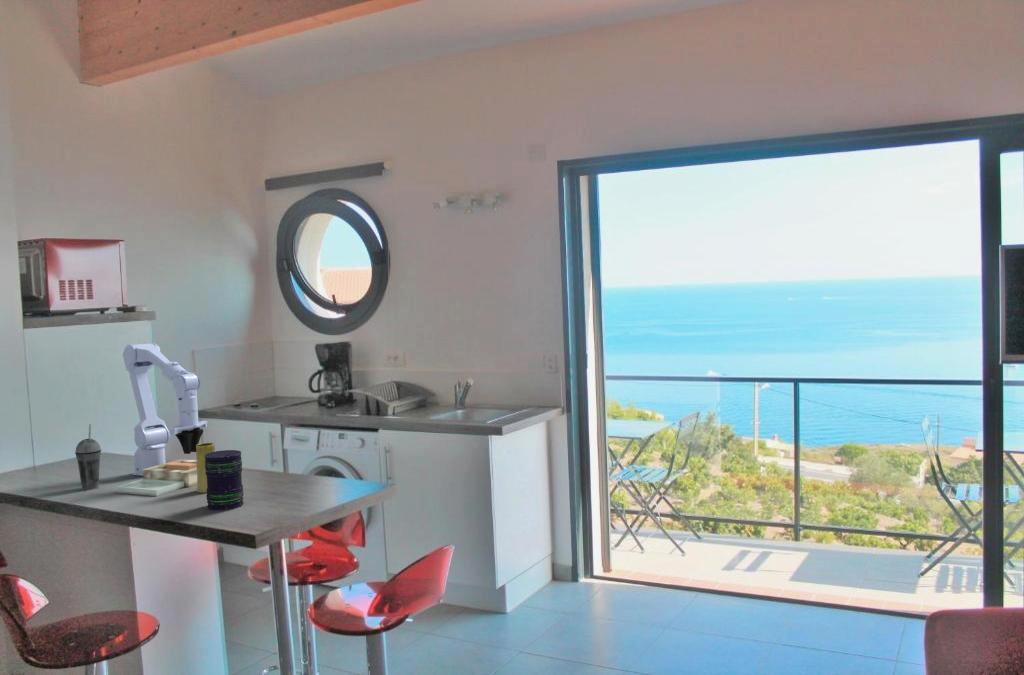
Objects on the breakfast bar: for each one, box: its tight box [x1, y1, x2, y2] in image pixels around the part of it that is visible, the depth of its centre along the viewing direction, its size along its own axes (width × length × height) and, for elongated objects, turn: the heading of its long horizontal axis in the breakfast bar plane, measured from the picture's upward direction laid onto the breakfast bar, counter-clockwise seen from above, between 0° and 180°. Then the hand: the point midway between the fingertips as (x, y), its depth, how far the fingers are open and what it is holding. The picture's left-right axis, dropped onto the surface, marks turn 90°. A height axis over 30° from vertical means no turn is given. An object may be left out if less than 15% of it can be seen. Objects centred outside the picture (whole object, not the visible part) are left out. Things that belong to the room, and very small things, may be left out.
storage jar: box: [205, 449, 245, 512], centre depth 223 cm, size 10×10×15 cm
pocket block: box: [142, 458, 197, 488], centre depth 258 cm, size 18×16×4 cm
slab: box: [165, 461, 197, 471], centre depth 258 cm, size 10×4×3 cm, turn 69°
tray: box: [115, 478, 185, 497], centre depth 245 cm, size 16×11×2 cm
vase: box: [195, 442, 216, 494], centre depth 242 cm, size 6×6×14 cm
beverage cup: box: [74, 424, 102, 491], centre depth 249 cm, size 7×7×20 cm
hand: (190, 452), depth 256 cm, fingers closed
